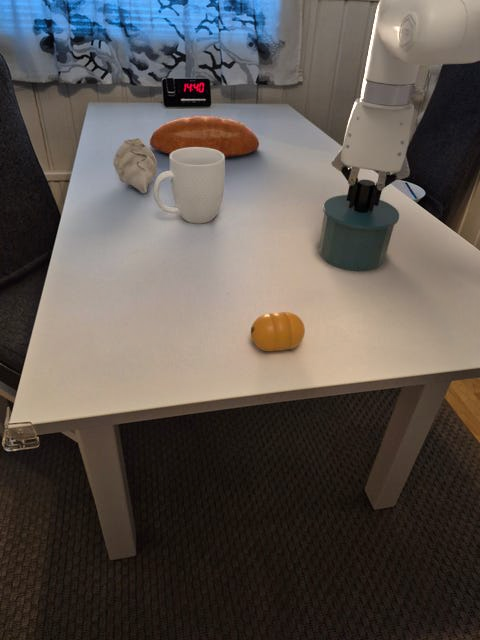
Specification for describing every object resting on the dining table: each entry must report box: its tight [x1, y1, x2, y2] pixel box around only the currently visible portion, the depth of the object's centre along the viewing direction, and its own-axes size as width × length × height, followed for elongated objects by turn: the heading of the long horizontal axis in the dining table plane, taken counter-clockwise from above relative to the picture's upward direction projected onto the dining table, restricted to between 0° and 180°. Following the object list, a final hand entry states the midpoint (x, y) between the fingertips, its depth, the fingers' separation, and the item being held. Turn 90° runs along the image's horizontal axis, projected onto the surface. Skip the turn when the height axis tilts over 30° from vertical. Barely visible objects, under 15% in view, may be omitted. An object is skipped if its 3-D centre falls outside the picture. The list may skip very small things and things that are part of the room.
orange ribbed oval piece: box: [250, 311, 306, 352], centre depth 62 cm, size 8×5×5 cm
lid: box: [322, 179, 400, 230], centre depth 79 cm, size 13×13×6 cm
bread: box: [149, 115, 260, 158], centre depth 128 cm, size 23×32×9 cm
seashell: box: [112, 138, 158, 195], centre depth 105 cm, size 10×15×10 cm
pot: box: [318, 212, 395, 272], centre depth 83 cm, size 12×12×8 cm
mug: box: [152, 147, 226, 224], centre depth 91 cm, size 15×11×13 cm
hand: (361, 205), depth 79 cm, fingers closed on lid, 2 cm apart
